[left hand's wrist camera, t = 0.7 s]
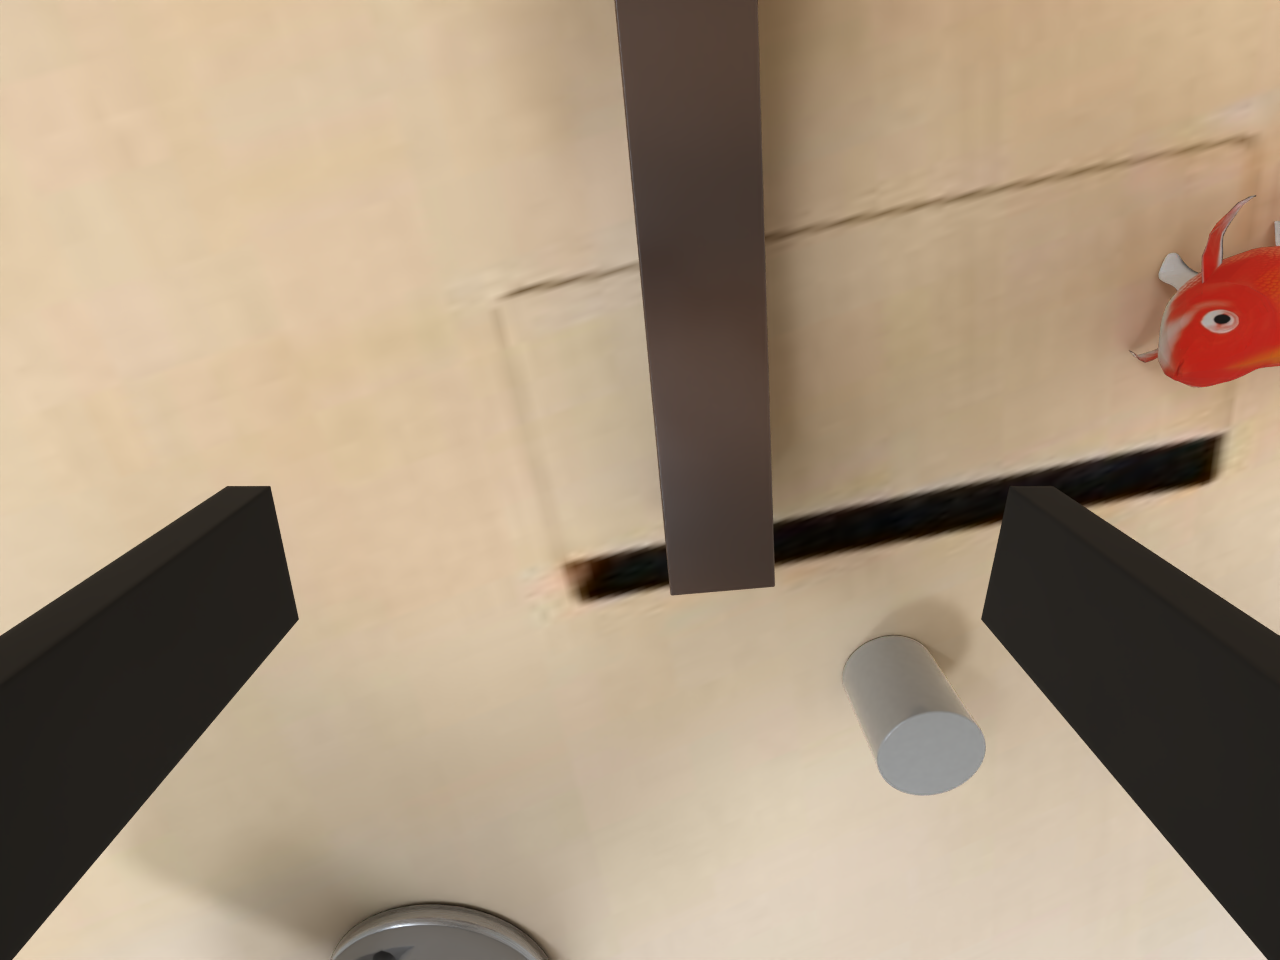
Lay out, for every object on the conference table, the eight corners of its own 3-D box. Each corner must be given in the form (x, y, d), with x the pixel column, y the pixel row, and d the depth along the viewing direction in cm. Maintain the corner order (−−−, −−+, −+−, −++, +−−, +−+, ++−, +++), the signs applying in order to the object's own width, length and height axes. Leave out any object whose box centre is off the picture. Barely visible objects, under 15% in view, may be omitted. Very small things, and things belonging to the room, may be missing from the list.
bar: (745, 503, 33) (775, 587, 26) (663, 511, 34) (670, 596, 26) (714, -172, 24) (747, -346, 16) (601, -158, 24) (583, -324, 17)
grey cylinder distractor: (902, 722, 38) (946, 809, 33) (824, 692, 38) (856, 775, 32) (952, 654, 37) (1008, 734, 31) (872, 621, 36) (915, 696, 30)
